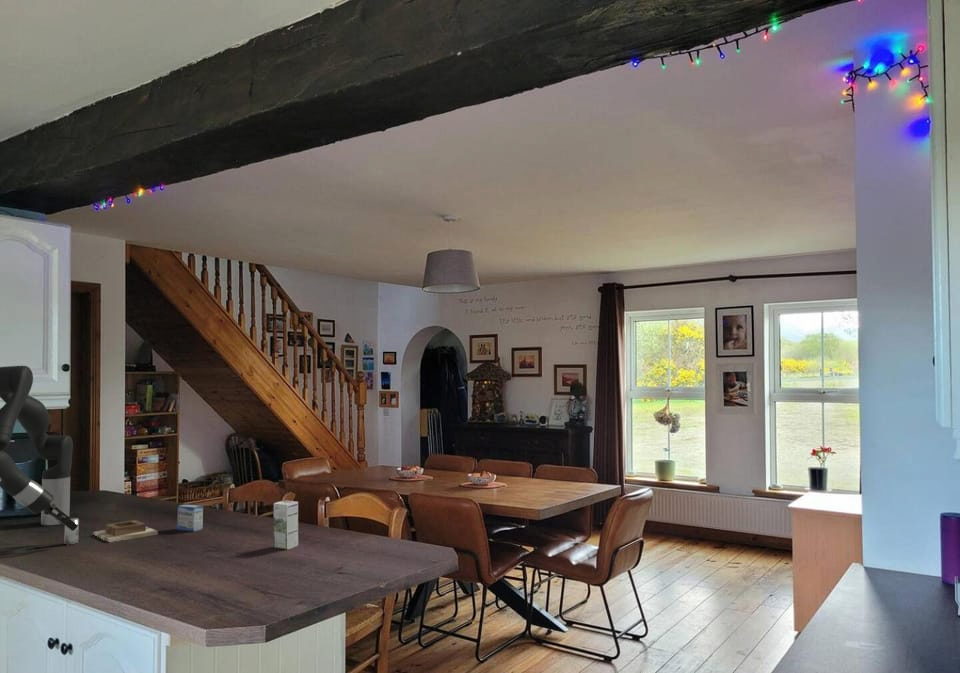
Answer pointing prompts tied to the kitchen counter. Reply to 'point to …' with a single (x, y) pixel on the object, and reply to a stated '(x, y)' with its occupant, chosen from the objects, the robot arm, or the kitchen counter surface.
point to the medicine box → (190, 518)
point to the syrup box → (285, 524)
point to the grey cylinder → (71, 533)
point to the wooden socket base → (124, 531)
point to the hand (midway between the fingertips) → (71, 526)
